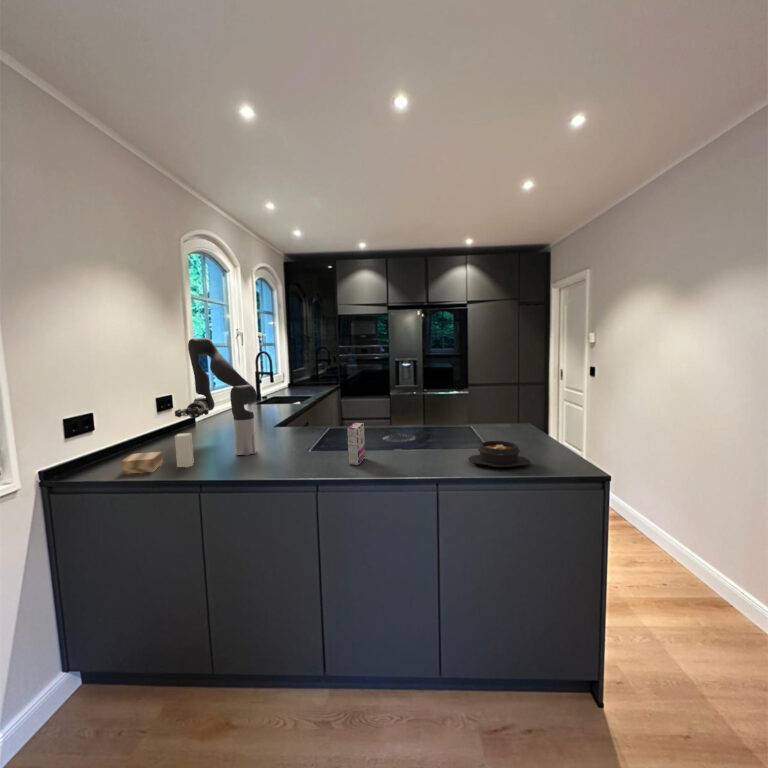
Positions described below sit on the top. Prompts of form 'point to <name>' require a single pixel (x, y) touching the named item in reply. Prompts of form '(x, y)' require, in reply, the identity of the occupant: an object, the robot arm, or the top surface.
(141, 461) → the oak block
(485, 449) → the casserole
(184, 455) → the off-white column
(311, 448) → the top surface
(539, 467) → the top surface
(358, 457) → the candy bar box
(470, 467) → the top surface
